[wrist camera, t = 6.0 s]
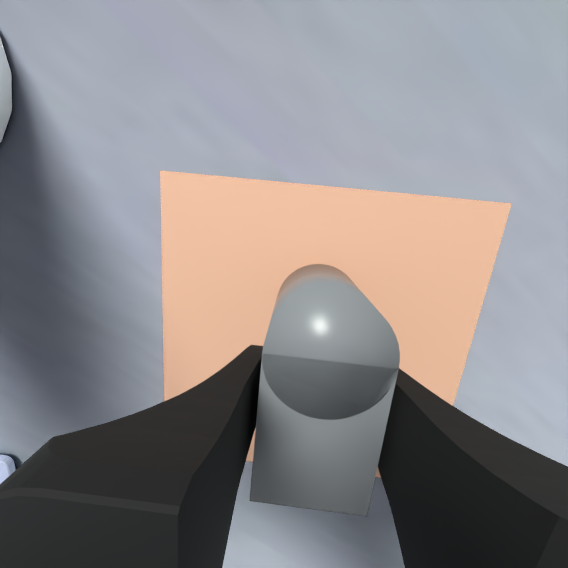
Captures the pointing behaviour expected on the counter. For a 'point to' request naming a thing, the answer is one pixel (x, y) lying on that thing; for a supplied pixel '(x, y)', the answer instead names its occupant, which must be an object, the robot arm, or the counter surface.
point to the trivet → (320, 250)
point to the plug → (323, 395)
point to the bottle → (4, 91)
